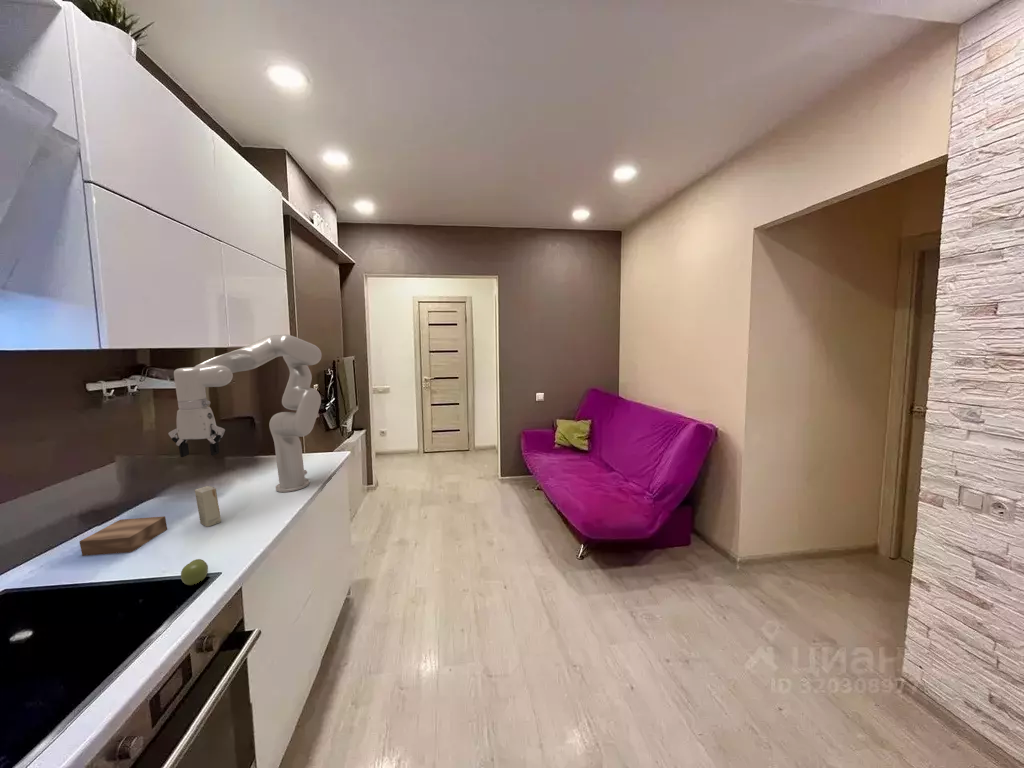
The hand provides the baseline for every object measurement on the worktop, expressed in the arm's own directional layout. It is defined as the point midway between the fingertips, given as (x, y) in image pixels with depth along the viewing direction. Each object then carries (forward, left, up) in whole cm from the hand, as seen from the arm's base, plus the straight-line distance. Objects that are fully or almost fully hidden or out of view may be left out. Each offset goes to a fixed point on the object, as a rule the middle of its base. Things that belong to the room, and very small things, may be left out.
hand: (200, 455), depth 137 cm
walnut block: (+10, -19, -25) cm, 33 cm away
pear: (+34, +18, -24) cm, 45 cm away
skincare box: (0, 0, -24) cm, 24 cm away
